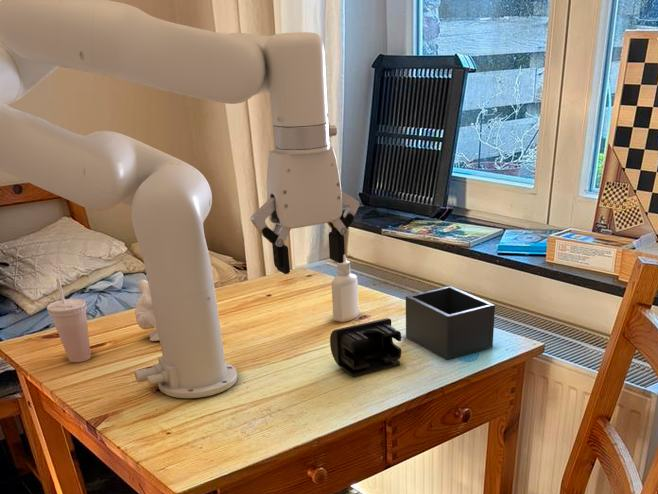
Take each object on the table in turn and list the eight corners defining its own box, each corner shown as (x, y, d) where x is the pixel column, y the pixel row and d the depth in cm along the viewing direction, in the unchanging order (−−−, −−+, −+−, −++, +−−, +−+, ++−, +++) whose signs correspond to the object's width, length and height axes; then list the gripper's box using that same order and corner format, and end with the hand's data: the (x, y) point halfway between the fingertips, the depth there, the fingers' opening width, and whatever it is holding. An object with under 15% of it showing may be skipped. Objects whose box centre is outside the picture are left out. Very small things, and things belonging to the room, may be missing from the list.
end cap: (383, 351, 129) (382, 313, 125) (403, 365, 124) (403, 326, 120) (330, 363, 125) (328, 325, 122) (349, 378, 120) (347, 338, 116)
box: (446, 360, 125) (448, 316, 121) (405, 337, 134) (405, 296, 130) (492, 347, 129) (495, 304, 124) (449, 326, 138) (450, 285, 134)
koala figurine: (188, 339, 137) (177, 274, 131) (154, 349, 134) (141, 282, 127) (167, 327, 143) (156, 264, 137) (134, 336, 140) (121, 272, 133)
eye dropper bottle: (364, 318, 143) (361, 255, 136) (336, 323, 141) (333, 259, 135) (355, 311, 146) (352, 249, 140) (328, 316, 145) (324, 254, 138)
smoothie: (81, 348, 135) (62, 271, 128) (106, 354, 132) (88, 276, 125) (53, 361, 131) (30, 282, 123) (78, 368, 128) (57, 287, 120)
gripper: (343, 129, 108) (349, 251, 118) (231, 142, 101) (246, 270, 111) (370, 134, 103) (373, 262, 112) (253, 148, 96) (267, 283, 105)
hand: (310, 265), depth 111 cm, fingers open, 8 cm apart
